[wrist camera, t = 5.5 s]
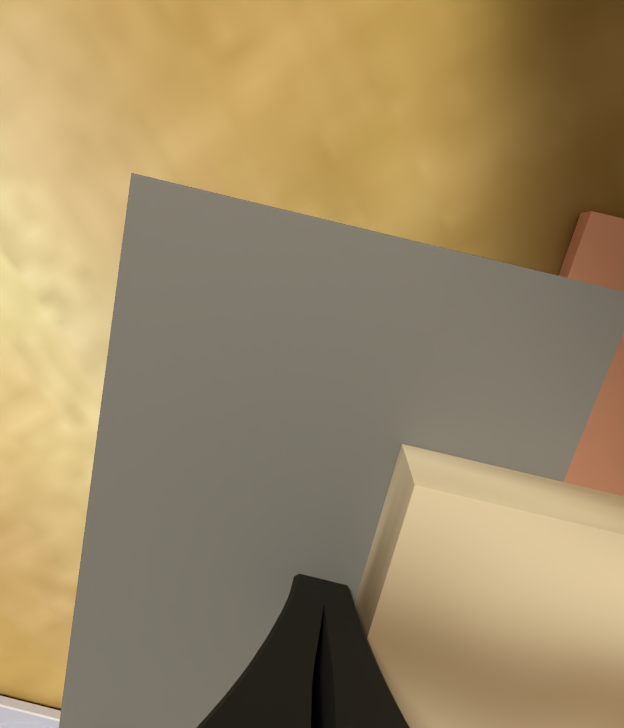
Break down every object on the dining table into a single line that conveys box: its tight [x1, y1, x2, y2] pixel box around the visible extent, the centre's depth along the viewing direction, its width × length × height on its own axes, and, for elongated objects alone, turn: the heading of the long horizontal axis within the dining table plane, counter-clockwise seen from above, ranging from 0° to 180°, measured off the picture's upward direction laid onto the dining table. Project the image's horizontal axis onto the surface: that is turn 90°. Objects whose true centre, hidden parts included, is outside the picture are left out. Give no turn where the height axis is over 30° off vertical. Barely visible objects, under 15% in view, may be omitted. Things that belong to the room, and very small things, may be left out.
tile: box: [354, 444, 624, 728], centre depth 11 cm, size 9×6×2 cm, turn 167°
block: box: [59, 173, 624, 728], centre depth 14 cm, size 18×11×4 cm, turn 167°
